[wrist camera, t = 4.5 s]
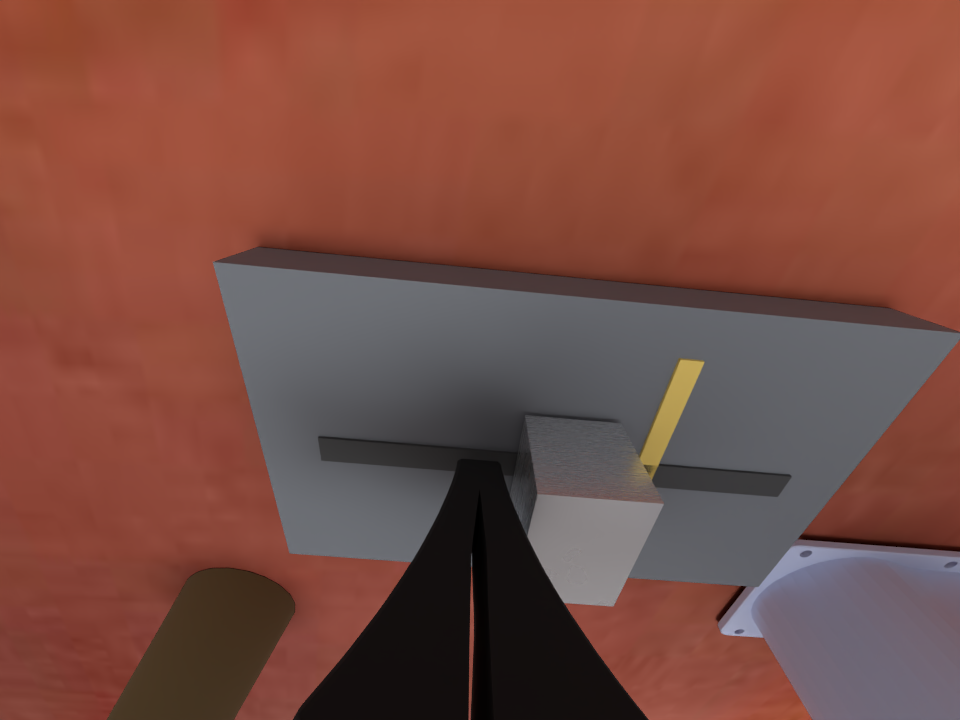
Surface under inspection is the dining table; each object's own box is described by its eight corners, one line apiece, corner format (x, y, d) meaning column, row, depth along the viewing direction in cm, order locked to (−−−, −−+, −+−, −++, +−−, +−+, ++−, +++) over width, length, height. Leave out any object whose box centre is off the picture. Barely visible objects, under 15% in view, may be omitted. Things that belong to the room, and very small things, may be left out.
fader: (621, 423, 11) (663, 503, 8) (587, 517, 13) (613, 606, 10) (525, 415, 11) (537, 494, 8) (507, 511, 13) (512, 599, 10)
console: (889, 308, 11) (968, 335, 9) (730, 543, 17) (759, 589, 15) (257, 246, 11) (210, 262, 9) (310, 512, 16) (288, 555, 15)
